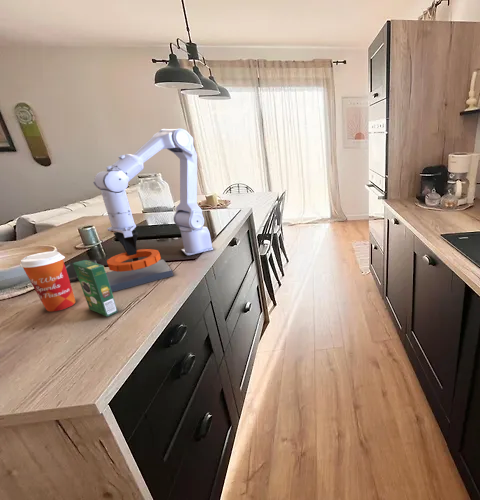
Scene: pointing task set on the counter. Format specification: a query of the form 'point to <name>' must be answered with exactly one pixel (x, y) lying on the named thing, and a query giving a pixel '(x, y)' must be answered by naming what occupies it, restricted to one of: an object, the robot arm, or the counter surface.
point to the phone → (73, 271)
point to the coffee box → (96, 287)
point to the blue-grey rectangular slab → (138, 276)
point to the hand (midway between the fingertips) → (131, 253)
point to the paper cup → (49, 279)
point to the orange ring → (117, 266)
